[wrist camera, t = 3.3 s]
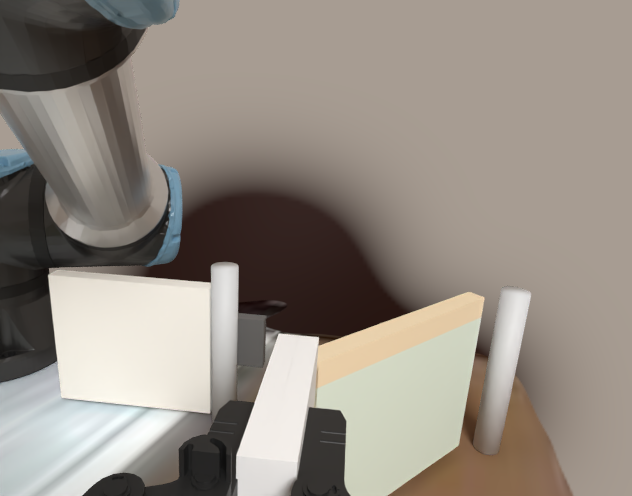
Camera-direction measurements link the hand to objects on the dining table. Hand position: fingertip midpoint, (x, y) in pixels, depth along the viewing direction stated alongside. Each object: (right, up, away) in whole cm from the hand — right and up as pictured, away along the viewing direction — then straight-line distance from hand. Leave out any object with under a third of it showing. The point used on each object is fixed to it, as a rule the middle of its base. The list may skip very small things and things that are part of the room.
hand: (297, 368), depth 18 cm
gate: (+6, -15, +21) cm, 26 cm away
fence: (-3, -13, +30) cm, 33 cm away
